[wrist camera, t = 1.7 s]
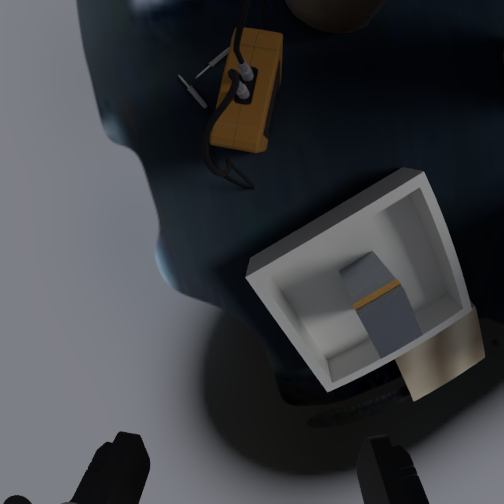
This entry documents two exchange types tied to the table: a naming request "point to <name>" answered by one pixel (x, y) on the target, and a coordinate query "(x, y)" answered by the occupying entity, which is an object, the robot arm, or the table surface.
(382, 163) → the table surface
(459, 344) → the pad
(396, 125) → the table surface
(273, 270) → the white tray
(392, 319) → the block
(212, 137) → the multimeter
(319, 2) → the pillar candle
